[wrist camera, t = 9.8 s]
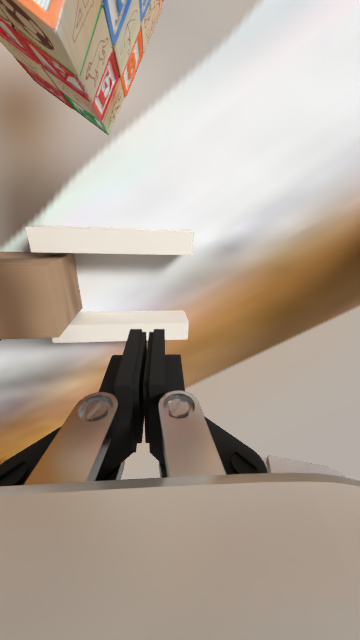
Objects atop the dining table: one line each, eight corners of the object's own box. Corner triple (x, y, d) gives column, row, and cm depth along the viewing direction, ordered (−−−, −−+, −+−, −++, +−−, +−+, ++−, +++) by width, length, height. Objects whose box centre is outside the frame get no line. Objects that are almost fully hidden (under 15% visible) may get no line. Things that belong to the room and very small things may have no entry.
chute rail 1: (187, 230, 23) (193, 232, 20) (186, 250, 24) (192, 255, 20) (44, 225, 21) (25, 226, 18) (48, 247, 22) (31, 252, 19)
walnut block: (73, 252, 23) (43, 266, 16) (82, 307, 25) (59, 337, 19) (-1, 251, 22) (-64, 265, 15) (16, 308, 24) (-32, 339, 18)
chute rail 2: (184, 310, 27) (188, 322, 23) (183, 325, 27) (187, 339, 24) (61, 311, 25) (48, 325, 22) (65, 327, 26) (52, 343, 23)
